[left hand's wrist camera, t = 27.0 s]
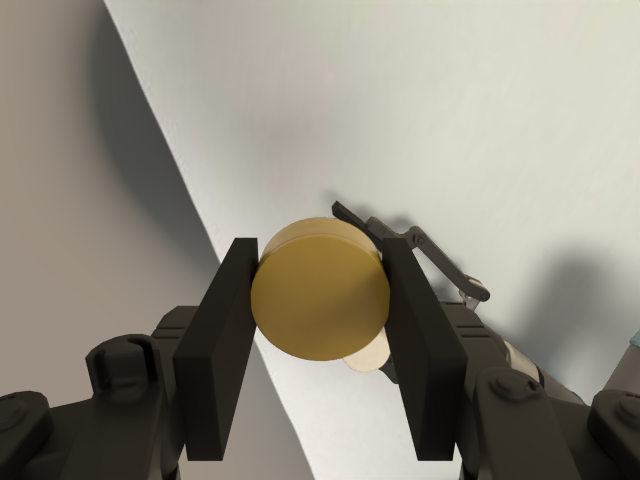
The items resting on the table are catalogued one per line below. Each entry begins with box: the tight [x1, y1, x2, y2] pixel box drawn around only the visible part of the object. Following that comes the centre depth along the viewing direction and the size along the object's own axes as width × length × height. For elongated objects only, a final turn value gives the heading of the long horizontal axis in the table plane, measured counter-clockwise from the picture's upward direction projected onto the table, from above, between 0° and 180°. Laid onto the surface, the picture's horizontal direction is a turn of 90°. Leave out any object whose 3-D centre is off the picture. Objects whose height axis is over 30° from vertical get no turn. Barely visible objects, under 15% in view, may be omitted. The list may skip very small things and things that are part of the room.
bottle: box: [335, 218, 390, 372], centre depth 37 cm, size 7×7×20 cm
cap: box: [251, 218, 390, 361], centre depth 14 cm, size 4×4×2 cm
